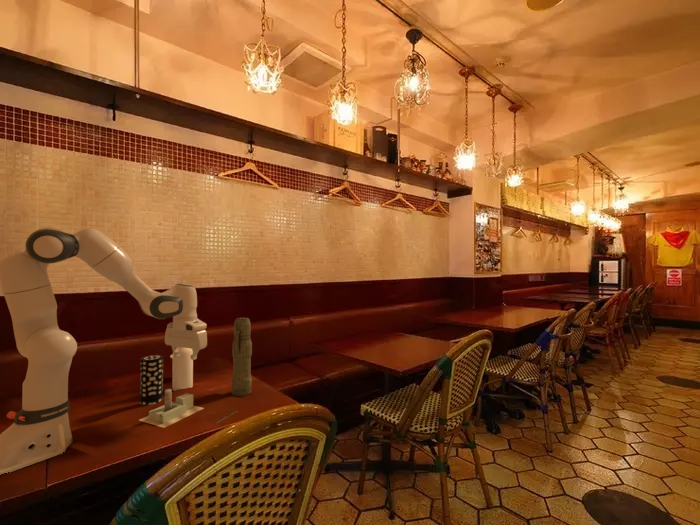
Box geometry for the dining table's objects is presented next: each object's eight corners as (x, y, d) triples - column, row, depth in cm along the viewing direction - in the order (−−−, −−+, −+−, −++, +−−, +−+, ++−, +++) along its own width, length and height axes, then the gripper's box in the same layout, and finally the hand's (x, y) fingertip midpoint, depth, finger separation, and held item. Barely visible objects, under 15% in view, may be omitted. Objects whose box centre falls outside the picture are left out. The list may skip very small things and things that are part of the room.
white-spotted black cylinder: (152, 409, 139) (152, 360, 139) (135, 407, 141) (135, 359, 141) (167, 401, 147) (167, 355, 148) (150, 399, 149) (151, 354, 149)
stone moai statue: (227, 397, 152) (228, 320, 152) (236, 388, 164) (237, 316, 164) (246, 398, 152) (247, 320, 152) (254, 388, 163) (255, 316, 163)
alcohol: (188, 384, 168) (189, 324, 168) (195, 389, 162) (196, 326, 162) (169, 388, 162) (170, 326, 162) (175, 394, 156) (176, 329, 156)
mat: (215, 424, 127) (215, 423, 127) (195, 418, 131) (195, 418, 131) (237, 411, 138) (237, 410, 138) (219, 407, 142) (219, 406, 142)
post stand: (164, 431, 121) (164, 399, 121) (138, 424, 127) (138, 393, 127) (204, 411, 137) (204, 383, 137) (179, 405, 143) (179, 378, 143)
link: (163, 423, 124) (163, 410, 124) (148, 419, 127) (148, 406, 127) (196, 407, 138) (196, 395, 138) (182, 404, 141) (182, 392, 141)
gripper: (160, 323, 138) (160, 356, 138) (197, 327, 130) (197, 363, 130) (174, 320, 144) (174, 353, 144) (209, 324, 136) (209, 358, 136)
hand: (185, 357), depth 137 cm, fingers open, 8 cm apart
